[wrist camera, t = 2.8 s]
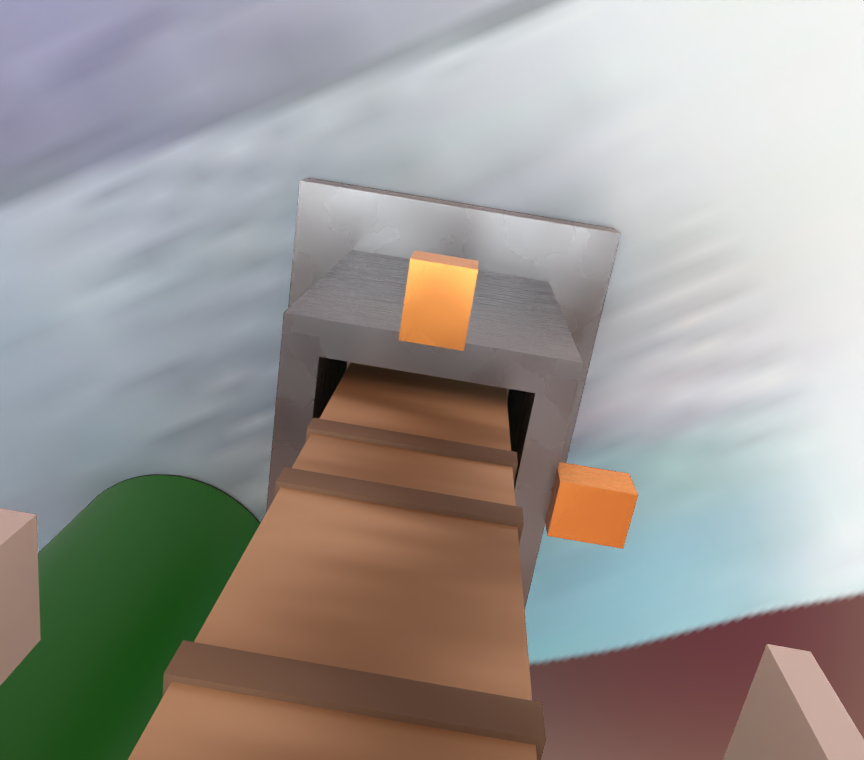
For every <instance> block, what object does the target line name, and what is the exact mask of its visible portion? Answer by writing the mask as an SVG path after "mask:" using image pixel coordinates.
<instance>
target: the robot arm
mask: <svg viewBox="0 0 864 760" xmlns="http://www.w3.org/2000/svg"><path fill="white" fill-rule="evenodd" d="M40 640H41V636H40V606H39V577H38V547H37V517H36V514H30V513H24V512H19V511H13V510H8V509H2V508H0V685H1V684H2V683H3V682H4V681H5V680H6V679H7V677H8V676H9V675H10V674H11V673H12V672H13V671H14V669H15V668H16V667H17V666H18V665H19V664H20V663H21V661H22V660H23V659H24V658H25V657H26V656H27V655H28V653H29V652H30V651H31V650H32V649H33V648H34V647H35V645H36V644H37V643H38V642H39V641H40ZM723 760H864V739H863V738H862V736H861V735H860V733H859V731H858V730H857V728H856V726H855V725H854V723H853V721H852V720H851V718H850V716H849V715H848V713H847V711H846V710H845V708H844V706H843V705H842V703H841V702H840V700H839V698H838V697H837V695H836V693H835V692H834V690H833V688H832V687H831V685H830V683H829V682H828V680H827V678H826V677H825V675H824V673H823V672H822V670H821V668H820V667H819V665H818V664H817V662H816V660H815V658H814V657H813V655H812V654H811V652H809V651H803V650H797V649H792V648H786V647H781V646H775V645H769V644H767V645H766V648H765V651H764V653H763V656H762V658H761V661H760V664H759V666H758V669H757V671H756V674H755V677H754V679H753V682H752V685H751V687H750V690H749V693H748V695H747V698H746V701H745V703H744V706H743V708H742V711H741V714H740V716H739V719H738V722H737V724H736V727H735V730H734V732H733V735H732V737H731V740H730V743H729V746H728V748H727V751H726V754H725V756H724V759H723Z"/></svg>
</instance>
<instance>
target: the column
mask: <svg viewBox="0 0 864 760" xmlns="http://www.w3.org/2000/svg"><path fill="white" fill-rule="evenodd" d="M508 394H509V389H508V388H502V387H496V386H490V385H484V384H478V383H472V382H466V381H460V380H454V379H448V378H442V377H436V376H430V375H425V374H419V373H413V372H407V371H401V370H395V369H389V368H383V367H377V366H371V365H365V364H359V363H353V362H347V368H346V372H345V374H344V375H343V377H342V379H341V381H340V383H339V384H338V386H337V388H336V390H335V391H334V393H333V395H332V397H331V399H330V400H329V402H328V404H327V406H326V407H325V409H324V411H323V413H322V415H321V416H320V418H313V419H312V420H311V422H310V424H309V426H308V427H307V433H306V443H305V445H304V447H303V448H302V450H301V452H300V454H299V456H298V457H297V459H296V461H295V463H294V464H293V466H292V468H289V467H284V468H283V470H282V472H281V473H280V475H279V477H278V479H277V480H276V487H275V498H274V500H273V502H272V504H271V505H270V507H269V509H268V511H267V513H266V514H265V516H264V518H263V520H262V521H261V523H260V525H259V527H258V529H257V530H256V532H255V534H254V536H253V538H252V539H251V541H250V543H249V545H248V546H247V548H246V550H245V552H244V554H243V555H242V557H241V559H240V561H239V562H238V564H237V566H236V568H235V570H234V571H233V573H232V575H231V577H230V579H229V580H228V582H227V584H226V586H225V587H224V589H223V591H222V593H221V595H220V596H219V598H218V600H217V602H216V603H215V605H214V607H213V609H212V611H211V612H210V614H209V616H208V618H207V619H206V621H205V623H204V625H203V627H202V628H201V630H200V632H199V634H198V636H197V637H196V639H195V641H194V642H191V641H185V640H183V641H182V643H181V645H180V646H179V648H178V650H177V652H176V653H175V655H174V657H173V658H172V660H171V662H170V663H169V665H168V667H167V669H166V670H165V672H164V676H163V698H162V700H161V701H160V703H159V705H158V707H157V709H156V710H155V712H154V714H153V716H152V717H151V719H150V721H149V723H148V725H147V726H146V728H145V730H144V732H143V733H142V735H141V737H140V739H139V741H138V742H137V744H136V746H135V748H134V750H133V751H132V753H131V755H130V757H129V758H128V760H541V756H542V753H543V749H544V745H545V741H546V737H545V728H544V717H543V708H542V703H541V702H536V701H532V694H531V682H530V670H529V658H528V646H527V634H526V622H525V611H524V599H523V587H522V575H521V563H520V551H519V543H520V539H521V535H522V530H523V526H524V519H523V509H522V507H518V506H516V503H515V491H514V480H515V475H516V471H517V466H518V459H517V452H514V451H511V443H510V431H509V419H508V407H507V399H508Z"/></svg>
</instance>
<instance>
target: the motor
mask: <svg viewBox="0 0 864 760" xmlns="http://www.w3.org/2000/svg"><path fill="white" fill-rule="evenodd" d="M259 525H260V524H259V522H258V521H257V520H256V519H255V518H254V517H253V515H252V514H251V513H250V512H249V511H247V510H246V509H245V508H244V507H243V506H242V505H241V504H239V503H238V502H237V501H235V500H234V499H232V498H231V497H230V496H228V495H226V494H225V493H223V492H221V491H219V490H217V489H216V488H213V487H211V486H209V485H206V484H204V483H201V482H198V481H195V480H192V479H188V478H183V477H178V476H169V475H149V476H141V477H136V478H132V479H128V480H125V481H123V482H120V483H118V484H116V485H113V486H112V487H110V488H108V489H107V490H105V491H104V492H102V493H101V494H100V495H98V496H97V497H96V498H95V499H94V500H93V501H92V502H91V503H90V504H89V505H88V506H87V507H86V508H85V509H84V510H83V511H81V512H80V513H79V514H78V515H77V516H76V517H75V518H74V519H73V520H72V521H71V522H70V523H69V524H68V525H67V526H66V527H65V528H64V529H63V530H62V531H61V532H60V533H59V534H58V535H56V536H55V537H54V538H53V539H52V540H51V541H50V542H49V543H48V544H47V545H46V546H45V547H44V548H43V549H42V550H41V551H40V552H39V553H38V577H39V606H40V636H41V640H40V641H39V642H38V643H37V644H36V645H35V647H34V648H33V649H32V650H31V651H30V652H29V653H28V655H27V656H26V657H25V658H24V659H23V660H22V661H21V663H20V664H19V665H18V666H17V667H16V668H15V669H14V671H13V672H12V673H11V674H10V675H9V676H8V677H7V679H6V680H5V681H4V682H3V683H2V684H1V685H0V760H128V758H129V757H130V755H131V753H132V751H133V750H134V748H135V746H136V744H137V742H138V741H139V739H140V737H141V735H142V733H143V732H144V730H145V728H146V726H147V725H148V723H149V721H150V719H151V717H152V716H153V714H154V712H155V710H156V709H157V707H158V705H159V703H160V701H161V700H162V698H163V676H164V672H165V670H166V669H167V667H168V665H169V663H170V662H171V660H172V658H173V657H174V655H175V653H176V652H177V650H178V648H179V646H180V645H181V643H182V641H183V640H185V641H191V642H194V641H195V639H196V637H197V636H198V634H199V632H200V630H201V628H202V627H203V625H204V623H205V621H206V619H207V618H208V616H209V614H210V612H211V611H212V609H213V607H214V605H215V603H216V602H217V600H218V598H219V596H220V595H221V593H222V591H223V589H224V587H225V586H226V584H227V582H228V580H229V579H230V577H231V575H232V573H233V571H234V570H235V568H236V566H237V564H238V562H239V561H240V559H241V557H242V555H243V554H244V552H245V550H246V548H247V546H248V545H249V543H250V541H251V539H252V538H253V536H254V534H255V532H256V530H257V529H258V527H259Z"/></svg>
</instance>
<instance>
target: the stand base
mask: <svg viewBox="0 0 864 760" xmlns="http://www.w3.org/2000/svg"><path fill="white" fill-rule="evenodd" d="M619 239H620V233H619V232H618V231H617V230H615V229H614V228H609V227H603V226H597V225H591V224H585V223H579V222H572V221H566V220H560V219H554V218H548V217H542V216H536V215H530V214H524V213H518V212H512V211H506V210H500V209H494V208H488V207H482V206H476V205H470V204H464V203H458V202H452V201H445V200H439V199H433V198H427V197H421V196H415V195H409V194H403V193H397V192H391V191H385V190H379V189H373V188H367V187H361V186H355V185H349V184H343V183H337V182H331V181H325V180H318V179H312V178H307V179H304V180H301V181H300V186H299V197H298V208H297V219H296V230H295V241H294V252H293V263H292V274H291V285H290V296H289V307H288V309H287V310H286V311H285V312H284V317H283V328H282V340H281V351H280V362H279V374H278V385H277V396H276V407H275V419H274V430H273V441H272V453H271V464H270V475H269V487H268V498H267V509H266V513H267V511H268V509H269V507H270V505H271V504H272V502H273V500H274V498H275V487H276V480H277V479H278V477H279V475H280V473H281V472H282V470H283V468H284V467H289V468H292V466H293V464H294V463H295V461H296V459H297V457H298V456H299V454H300V452H301V450H302V448H303V447H304V445H305V443H306V433H307V427H308V426H309V424H310V422H311V420H312V419H313V418H320V416H321V415H322V413H323V411H324V409H325V407H326V406H327V404H328V402H329V400H330V399H331V397H332V395H333V393H334V391H335V390H336V388H337V386H338V384H339V383H340V381H341V379H342V377H343V375H344V374H345V372H346V368H347V362H353V363H359V364H365V365H371V366H377V367H383V368H389V369H395V370H401V371H407V372H413V373H419V374H425V375H430V376H436V377H442V378H448V379H454V380H460V381H466V382H472V383H478V384H484V385H490V386H496V387H502V388H508V389H509V394H508V399H507V407H508V419H509V431H510V443H511V451H514V452H517V459H518V466H517V471H516V475H515V480H514V491H515V503H516V506H518V507H522V509H523V519H524V526H523V530H522V535H521V539H520V543H519V551H520V563H521V575H522V587H523V599H524V611H525V606H526V602H527V598H528V594H529V589H530V585H531V581H532V577H533V572H534V568H535V564H536V560H537V555H538V551H539V547H540V543H541V539H542V534H543V530H544V526H545V523H546V529H547V536H552V537H558V538H564V539H569V540H575V541H581V542H587V543H593V544H599V545H605V546H611V547H616V548H622V549H623V547H624V543H625V540H626V536H627V533H628V529H629V526H630V522H631V518H632V515H633V511H634V508H635V504H636V501H637V497H638V494H637V491H636V489H635V486H634V484H633V482H632V479H631V477H630V474H628V473H622V472H616V471H610V470H604V469H598V468H592V467H586V466H580V465H574V464H568V463H566V460H567V456H568V452H569V447H570V443H571V439H572V435H573V431H574V427H575V422H576V418H577V414H578V410H579V406H580V402H581V397H582V393H583V389H584V385H585V381H586V376H587V372H588V368H589V364H590V360H591V356H592V351H593V347H594V343H595V339H596V335H597V330H598V326H599V322H600V318H601V314H602V310H603V305H604V301H605V297H606V293H607V289H608V284H609V280H610V276H611V272H612V268H613V264H614V259H615V255H616V251H617V247H618V243H619Z"/></svg>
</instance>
